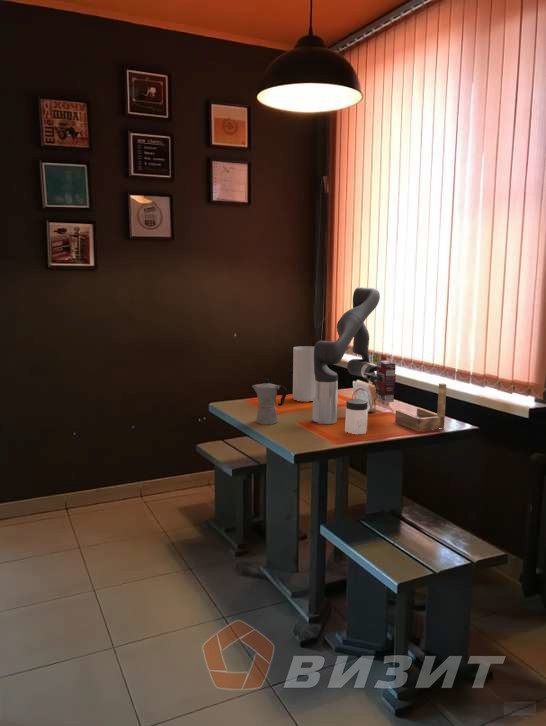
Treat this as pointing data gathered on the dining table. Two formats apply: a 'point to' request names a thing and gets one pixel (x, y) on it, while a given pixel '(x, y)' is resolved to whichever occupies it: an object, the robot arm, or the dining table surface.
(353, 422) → the jar
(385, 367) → the supplement box
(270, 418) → the coffeepot
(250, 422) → the dining table surface
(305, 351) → the cylinder vase
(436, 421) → the bracket
